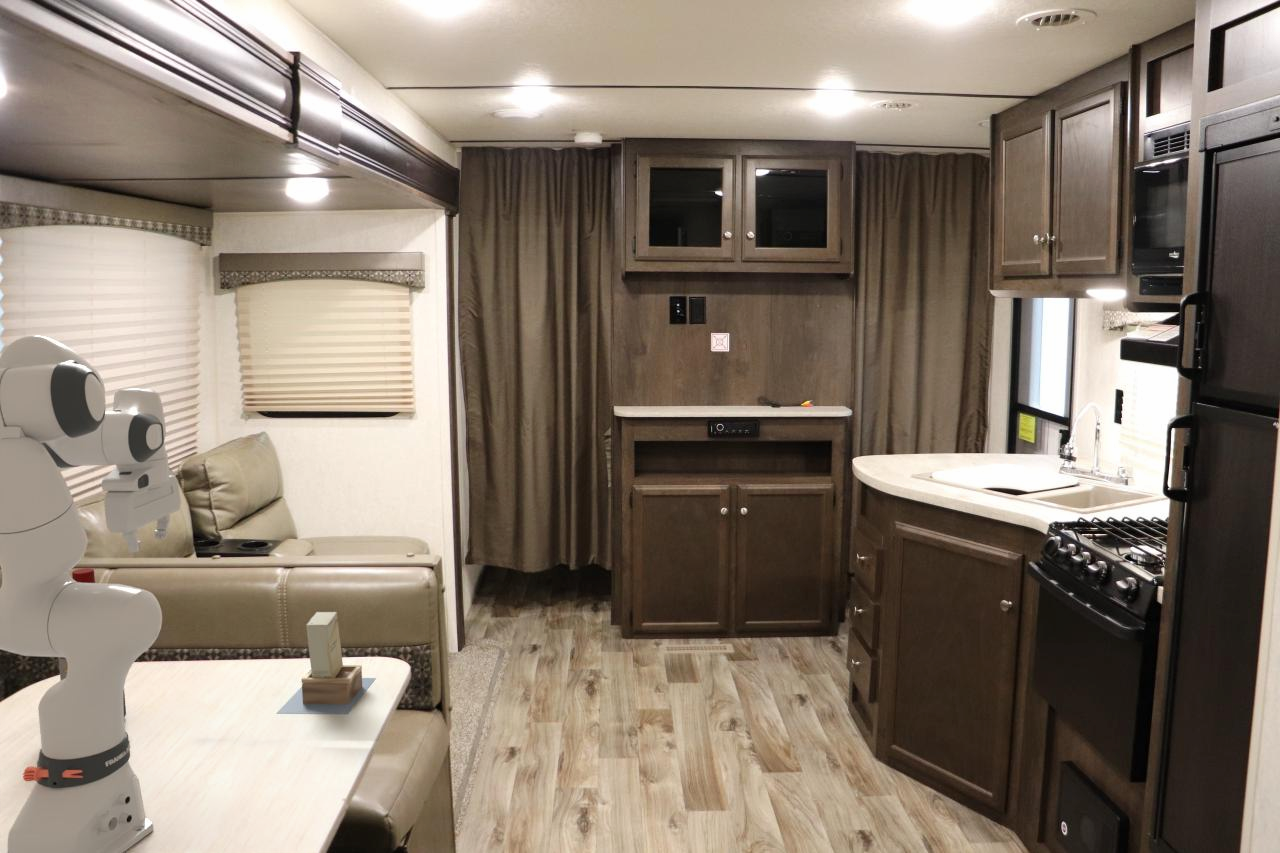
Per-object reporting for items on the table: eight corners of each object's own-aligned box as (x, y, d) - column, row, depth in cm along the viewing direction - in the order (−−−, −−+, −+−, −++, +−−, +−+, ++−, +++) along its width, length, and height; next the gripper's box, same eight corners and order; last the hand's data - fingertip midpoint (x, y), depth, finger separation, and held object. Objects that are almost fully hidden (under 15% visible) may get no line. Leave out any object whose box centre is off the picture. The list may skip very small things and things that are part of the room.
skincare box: (333, 681, 198) (327, 625, 195) (311, 681, 199) (304, 625, 195) (343, 665, 205) (338, 611, 201) (322, 665, 205) (316, 611, 201)
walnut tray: (349, 704, 197) (348, 681, 196) (301, 703, 198) (300, 680, 197) (363, 686, 206) (362, 664, 205) (317, 685, 206) (316, 663, 206)
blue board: (348, 718, 193) (347, 714, 193) (276, 718, 193) (276, 713, 193) (376, 682, 211) (376, 678, 210) (310, 681, 211) (310, 677, 211)
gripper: (155, 464, 199) (160, 531, 201) (95, 483, 179) (101, 558, 181) (186, 464, 199) (191, 531, 201) (129, 483, 179) (135, 559, 181)
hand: (148, 544), depth 191 cm, fingers open, 8 cm apart
